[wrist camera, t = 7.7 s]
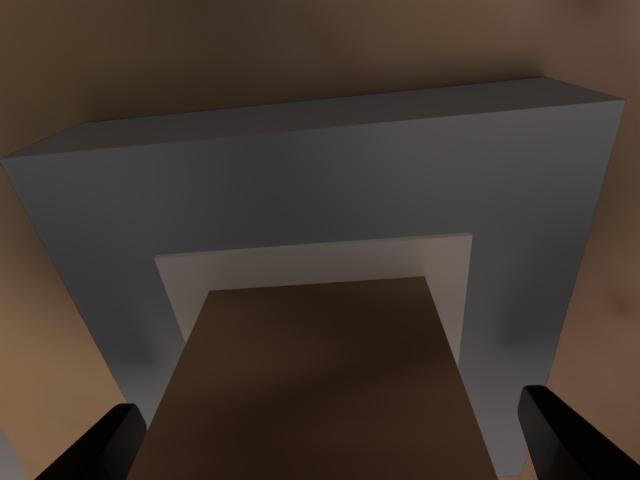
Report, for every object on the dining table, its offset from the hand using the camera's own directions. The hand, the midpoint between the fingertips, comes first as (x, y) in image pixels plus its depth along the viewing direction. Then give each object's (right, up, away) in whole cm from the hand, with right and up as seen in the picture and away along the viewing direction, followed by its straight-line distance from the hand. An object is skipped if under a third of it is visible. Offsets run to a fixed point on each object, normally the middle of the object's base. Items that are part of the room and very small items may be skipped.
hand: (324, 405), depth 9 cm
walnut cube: (0, +1, +1) cm, 1 cm away
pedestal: (0, +2, +4) cm, 4 cm away
